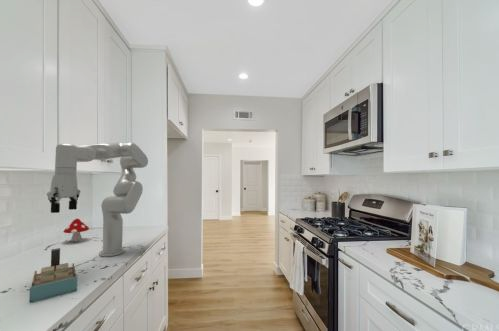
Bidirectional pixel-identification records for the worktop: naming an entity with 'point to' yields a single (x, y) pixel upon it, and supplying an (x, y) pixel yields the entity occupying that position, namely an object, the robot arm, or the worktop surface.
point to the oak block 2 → (62, 270)
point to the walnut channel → (37, 277)
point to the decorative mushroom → (76, 229)
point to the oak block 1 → (47, 274)
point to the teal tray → (53, 289)
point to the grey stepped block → (55, 258)
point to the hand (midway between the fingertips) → (64, 210)
